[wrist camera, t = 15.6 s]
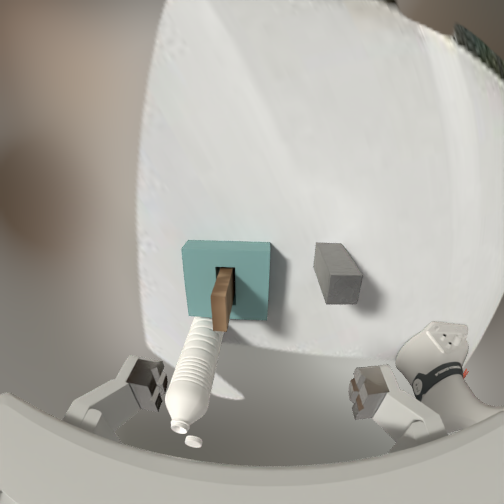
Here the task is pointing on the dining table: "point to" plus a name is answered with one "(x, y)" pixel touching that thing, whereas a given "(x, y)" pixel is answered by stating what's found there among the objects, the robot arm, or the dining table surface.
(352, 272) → the square metal peg
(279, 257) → the dining table surface
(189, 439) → the water bottle
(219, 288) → the walnut blade
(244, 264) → the socket block
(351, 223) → the dining table surface
